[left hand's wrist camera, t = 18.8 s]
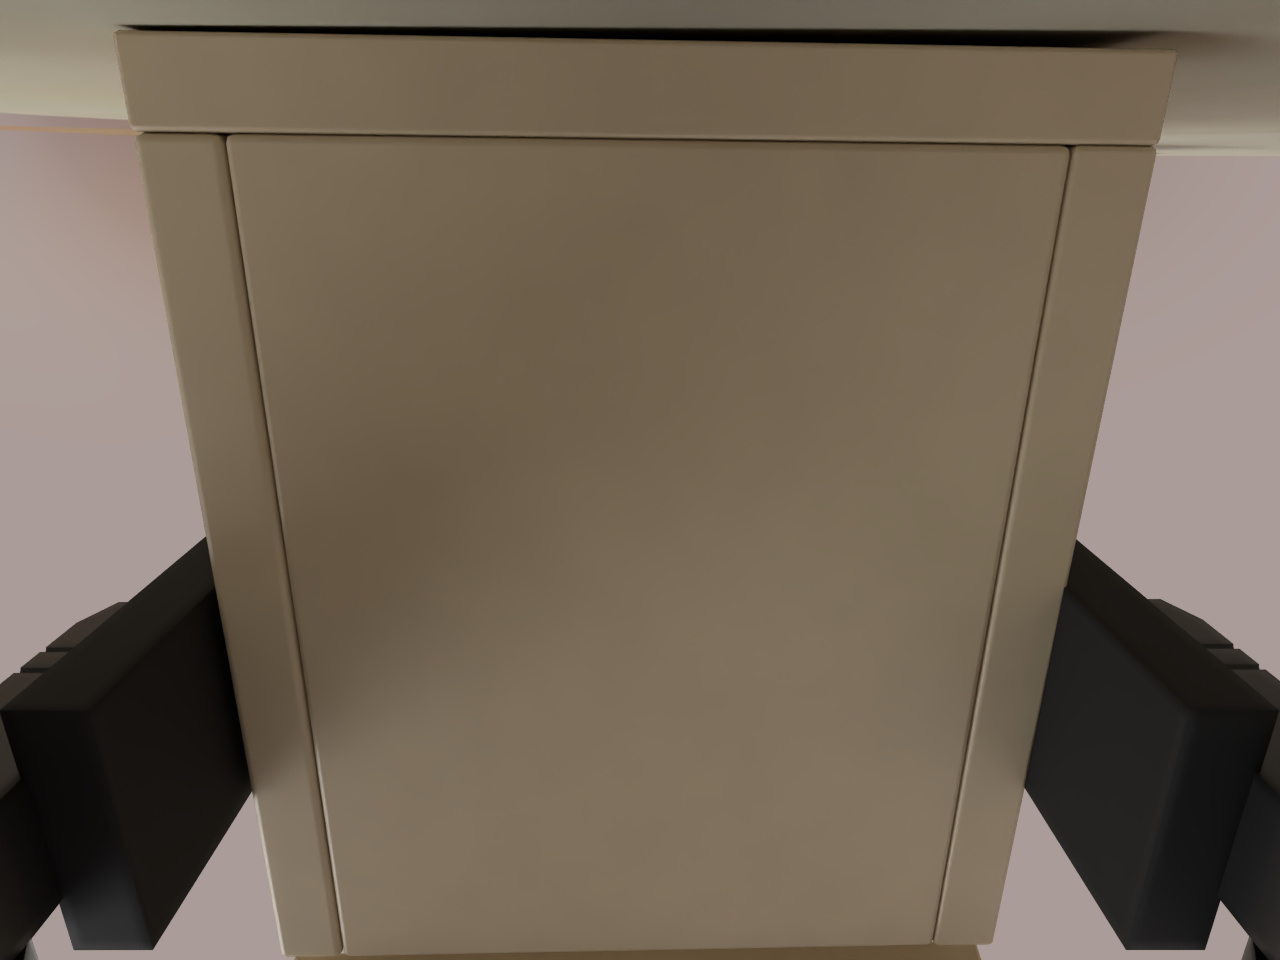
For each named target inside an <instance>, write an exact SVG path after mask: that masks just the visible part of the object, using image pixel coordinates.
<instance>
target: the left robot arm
mask: <svg viewBox="0 0 1280 960" xmlns="http://www.w3.org/2000/svg"><path fill="white" fill-rule="evenodd" d="M1025 789H1026V791H1027V792H1028V794H1029V795H1030V797H1031V799H1032V800H1033V802H1034V803H1035V805H1036V807H1037V808H1038V810H1039V811H1040V813H1041V814H1042V816H1043V818H1044V819H1045V821H1046V823H1047V824H1048V826H1049V827H1050V829H1051V831H1052V832H1053V834H1054V835H1055V837H1056V839H1057V840H1058V842H1059V843H1060V845H1061V847H1062V848H1063V850H1064V851H1065V853H1066V854H1067V856H1068V858H1069V859H1070V861H1071V863H1072V864H1073V866H1074V867H1075V869H1076V871H1077V872H1078V874H1079V875H1080V877H1081V879H1082V880H1083V882H1084V883H1085V885H1086V887H1087V888H1088V890H1089V891H1090V893H1091V895H1092V896H1093V898H1094V899H1095V901H1096V903H1097V904H1098V906H1099V907H1100V909H1101V911H1102V912H1103V914H1104V915H1105V917H1106V919H1107V920H1108V922H1109V923H1110V925H1111V927H1112V928H1113V930H1114V931H1115V933H1116V935H1117V936H1118V938H1119V939H1120V941H1121V943H1122V944H1123V946H1124V947H1125V949H1126V950H1205V948H1206V945H1207V942H1208V938H1209V935H1210V932H1211V929H1212V926H1213V922H1214V919H1215V916H1216V913H1217V910H1218V906H1219V903H1220V900H1221V901H1222V903H1223V904H1224V905H1225V906H1226V908H1227V909H1228V910H1229V911H1230V913H1231V914H1232V915H1233V916H1234V918H1235V919H1236V920H1237V921H1238V923H1239V924H1240V925H1241V926H1242V928H1243V929H1244V930H1245V931H1246V933H1247V934H1248V935H1249V939H1248V942H1247V945H1246V948H1245V951H1244V954H1243V957H1242V960H1280V681H1279V680H1278V679H1277V678H1275V677H1274V676H1273V675H1272V674H1270V673H1269V672H1268V671H1267V670H1260V669H1259V664H1258V663H1257V662H1255V661H1254V660H1253V659H1252V658H1250V657H1249V656H1248V655H1247V654H1245V653H1244V652H1243V651H1241V650H1240V649H1234V647H1233V643H1231V642H1230V641H1229V640H1228V639H1226V638H1225V637H1224V636H1223V635H1221V634H1220V633H1219V632H1218V631H1216V630H1215V629H1214V628H1213V627H1211V626H1210V625H1209V624H1207V623H1206V622H1205V621H1204V620H1202V619H1200V618H1198V617H1196V616H1194V615H1192V614H1190V613H1188V612H1186V611H1184V610H1182V609H1180V608H1178V607H1175V606H1173V605H1171V604H1169V603H1167V602H1165V601H1163V600H1161V599H1147V598H1145V597H1144V596H1143V595H1142V594H1141V593H1139V592H1138V591H1137V590H1136V589H1135V588H1134V587H1132V586H1131V585H1130V584H1129V583H1128V582H1126V581H1125V580H1124V579H1123V578H1122V577H1120V576H1119V575H1118V574H1117V573H1116V572H1114V571H1113V570H1112V569H1111V568H1110V567H1109V566H1107V565H1106V564H1105V563H1104V562H1103V561H1101V560H1100V559H1099V558H1098V557H1097V556H1095V555H1094V554H1093V553H1092V552H1091V551H1089V550H1088V549H1087V548H1086V547H1085V546H1083V545H1082V544H1081V543H1080V542H1079V541H1078V540H1076V542H1075V547H1074V552H1073V557H1072V561H1071V566H1070V571H1069V576H1068V581H1067V585H1066V587H1064V591H1063V596H1062V601H1061V606H1060V611H1059V616H1058V621H1057V626H1056V632H1055V637H1054V642H1053V647H1052V652H1051V657H1050V662H1049V667H1048V672H1047V677H1046V682H1045V687H1044V692H1043V697H1042V703H1041V708H1040V713H1039V718H1038V723H1037V728H1036V733H1035V738H1034V743H1033V748H1032V753H1031V758H1030V763H1029V768H1028V773H1027V778H1026V783H1025ZM251 792H252V787H251V782H250V776H249V771H248V765H247V760H246V754H245V748H244V743H243V737H242V732H241V726H240V721H239V715H238V710H237V704H236V699H235V693H234V688H233V682H232V676H231V671H230V665H229V660H228V654H227V649H226V643H225V638H224V632H223V627H222V621H221V616H220V610H219V604H218V599H217V593H216V588H215V582H214V577H213V571H212V566H211V560H210V555H209V549H208V543H207V538H206V537H205V538H204V539H202V540H201V541H200V542H199V543H198V544H196V545H195V546H194V547H193V548H192V549H190V550H189V551H188V552H187V553H186V554H184V555H183V556H182V557H181V558H180V559H178V560H177V561H176V562H175V563H174V564H173V565H171V566H170V567H169V568H168V569H167V570H165V571H164V572H163V573H162V574H161V575H159V576H158V577H157V578H156V579H155V580H154V581H152V582H151V583H150V584H149V585H148V586H146V587H145V588H144V589H143V590H142V591H140V592H139V593H138V594H137V595H136V596H134V597H133V598H132V599H131V600H130V601H129V602H118V603H116V604H114V605H112V606H110V607H108V608H106V609H104V610H102V611H100V612H98V613H96V614H94V615H92V616H90V617H88V618H86V619H84V620H82V621H80V622H78V623H76V624H75V625H73V626H72V627H71V628H70V629H68V630H67V631H66V632H65V633H63V634H62V635H61V636H60V637H58V638H57V639H56V640H55V641H53V642H52V643H51V644H50V645H48V646H47V647H46V652H40V653H38V654H37V655H36V656H35V657H33V658H32V659H31V660H30V661H29V662H27V663H26V664H25V665H24V666H22V667H21V671H20V673H14V674H12V675H11V676H10V677H9V678H7V679H6V680H5V681H3V682H2V683H1V684H0V960H38V957H37V954H36V951H35V948H34V945H33V942H32V937H33V936H34V935H35V933H36V932H37V931H38V930H39V928H40V927H41V926H42V925H43V923H44V922H45V921H46V920H47V918H48V917H49V916H50V915H51V913H52V912H53V911H54V910H55V908H56V907H57V906H58V904H60V907H61V911H62V914H63V917H64V920H65V923H66V927H67V930H68V933H69V936H70V939H71V943H72V946H73V949H74V950H153V949H154V947H155V945H156V944H157V942H158V941H159V939H160V938H161V936H162V934H163V933H164V931H165V930H166V928H167V926H168V925H169V923H170V921H171V920H172V918H173V917H174V915H175V913H176V912H177V910H178V909H179V907H180V906H181V904H182V902H183V901H184V899H185V897H186V896H187V894H188V893H189V891H190V890H191V888H192V886H193V885H194V883H195V882H196V880H197V878H198V877H199V875H200V874H201V872H202V870H203V869H204V867H205V865H206V864H207V862H208V861H209V859H210V858H211V856H212V854H213V853H214V851H215V850H216V848H217V846H218V845H219V843H220V842H221V840H222V838H223V837H224V835H225V834H226V832H227V830H228V829H229V827H230V826H231V824H232V822H233V821H234V819H235V817H236V816H237V814H238V813H239V811H240V810H241V808H242V806H243V805H244V803H245V801H246V800H247V798H248V797H249V795H250V793H251Z"/></svg>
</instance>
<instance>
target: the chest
mask: <svg viewBox="0 0 1280 960" xmlns="http://www.w3.org/2000/svg"><path fill="white" fill-rule="evenodd" d="M114 41H115V47H116V52H117V58H118V63H119V69H120V75H121V80H122V86H123V91H124V97H125V102H126V108H127V113H128V119H129V124H130V126H131V128H132V129H133V130H135V131H138V132H144V133H142V134H140V135H138V136H136V142H135V145H136V150H137V156H138V161H139V167H140V172H141V178H142V183H143V189H144V194H145V200H146V206H147V211H148V217H149V222H150V228H151V233H152V239H153V244H154V250H155V255H156V261H157V266H158V272H159V277H160V283H161V289H162V294H163V300H164V305H165V311H166V316H167V322H168V327H169V333H170V338H171V344H172V350H173V355H174V361H175V366H176V372H177V377H178V383H179V388H180V394H181V399H182V405H183V411H184V416H185V422H186V427H187V433H188V438H189V444H190V449H191V455H192V460H193V466H194V471H195V477H196V483H197V488H198V493H199V499H200V505H201V510H202V516H203V521H204V527H205V532H206V538H207V543H208V549H209V555H210V560H211V566H212V571H213V577H214V582H215V588H216V593H217V599H218V604H219V610H220V616H221V621H222V627H223V632H224V638H225V643H226V649H227V654H228V660H229V665H230V671H231V676H232V682H233V688H234V693H235V699H236V704H237V710H238V715H239V721H240V726H241V732H242V737H243V743H244V748H245V754H246V760H247V765H248V771H249V776H250V782H251V787H252V793H253V798H254V804H255V809H256V815H257V820H258V826H259V831H260V837H261V843H262V848H263V854H264V859H265V865H266V870H267V876H268V881H269V887H270V892H271V898H272V904H273V909H274V915H275V920H276V926H277V931H278V937H279V942H280V948H281V953H282V954H283V955H284V956H287V957H304V956H336V955H339V954H340V953H341V952H342V950H343V948H344V953H345V954H346V955H348V956H377V955H429V954H480V953H532V952H583V951H635V950H686V949H738V948H789V947H841V946H893V945H928V944H930V943H931V942H932V940H933V942H934V943H935V944H936V945H986V944H991V943H992V941H993V936H994V932H995V927H996V922H997V917H998V912H999V908H1000V903H1001V898H1002V893H1003V888H1004V884H1005V879H1006V874H1007V869H1008V864H1009V859H1010V855H1011V850H1012V845H1013V840H1014V835H1015V830H1016V826H1017V821H1018V816H1019V811H1020V806H1021V802H1022V797H1023V792H1024V787H1025V783H1026V778H1027V773H1028V768H1029V763H1030V758H1031V753H1032V748H1033V743H1034V738H1035V733H1036V728H1037V723H1038V718H1039V713H1040V708H1041V703H1042V697H1043V692H1044V687H1045V682H1046V677H1047V672H1048V667H1049V662H1050V657H1051V652H1052V647H1053V642H1054V637H1055V632H1056V626H1057V621H1058V616H1059V611H1060V606H1061V601H1062V596H1063V591H1064V587H1066V585H1067V581H1068V576H1069V571H1070V566H1071V561H1072V557H1073V552H1074V547H1075V542H1076V537H1077V532H1078V528H1079V522H1080V518H1081V513H1082V508H1083V504H1084V499H1085V494H1086V489H1087V484H1088V479H1089V475H1090V470H1091V465H1092V460H1093V455H1094V451H1095V446H1096V441H1097V436H1098V431H1099V427H1100V422H1101V417H1102V412H1103V407H1104V403H1105V398H1106V393H1107V388H1108V383H1109V378H1110V374H1111V369H1112V364H1113V359H1114V355H1115V350H1116V345H1117V340H1118V335H1119V330H1120V326H1121V321H1122V316H1123V311H1124V306H1125V302H1126V297H1127V292H1128V287H1129V282H1130V277H1131V273H1132V268H1133V263H1134V258H1135V254H1136V249H1137V244H1138V239H1139V234H1140V229H1141V225H1142V220H1143V215H1144V210H1145V205H1146V201H1147V196H1148V191H1149V186H1150V181H1151V177H1152V172H1153V167H1154V162H1155V157H1156V149H1155V148H1153V147H1151V146H1153V145H1155V144H1157V143H1158V142H1159V140H1160V136H1161V131H1162V126H1163V121H1164V117H1165V112H1166V107H1167V102H1168V97H1169V93H1170V88H1171V83H1172V78H1173V73H1174V69H1175V64H1176V59H1177V52H1176V51H1174V50H1172V49H1124V48H1069V47H1015V46H961V45H906V44H851V43H797V42H742V41H688V40H633V39H579V38H524V37H470V36H415V35H361V34H306V33H252V32H198V31H143V30H119V31H116V32H114Z"/></svg>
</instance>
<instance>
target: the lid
mask: <svg viewBox="0 0 1280 960" xmlns="http://www.w3.org/2000/svg"><path fill="white" fill-rule="evenodd" d="M294 960H981V958H980V954H979V951H978V948H977V945H936V944H935V943H934V942H931V943H930V944H928V945H893V946H841V947H789V948H738V949H686V950H635V951H583V952H532V953H480V954H429V955H377V956H348V955H346V954H339V955H336V956H304V957H295V959H294Z"/></svg>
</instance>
